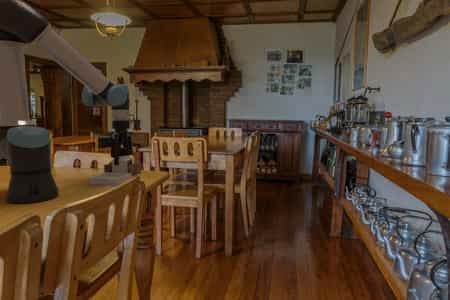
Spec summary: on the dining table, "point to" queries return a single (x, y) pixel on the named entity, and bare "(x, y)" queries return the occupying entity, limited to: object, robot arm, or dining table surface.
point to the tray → (109, 178)
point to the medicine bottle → (123, 160)
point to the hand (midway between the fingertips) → (122, 170)
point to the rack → (132, 169)
